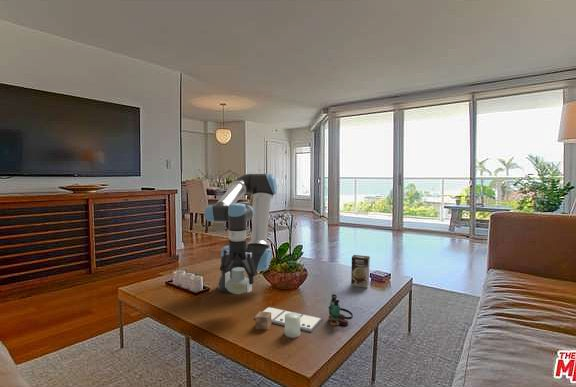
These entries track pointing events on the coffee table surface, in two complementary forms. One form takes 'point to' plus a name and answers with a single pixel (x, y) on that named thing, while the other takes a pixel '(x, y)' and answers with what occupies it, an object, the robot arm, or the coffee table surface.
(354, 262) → the coffee box
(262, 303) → the coffee table surface
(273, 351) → the coffee table surface
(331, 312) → the binoculars
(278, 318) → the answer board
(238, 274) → the air freshener
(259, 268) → the robot arm
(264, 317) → the walnut block
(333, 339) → the coffee table surface
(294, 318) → the pale green capsule
